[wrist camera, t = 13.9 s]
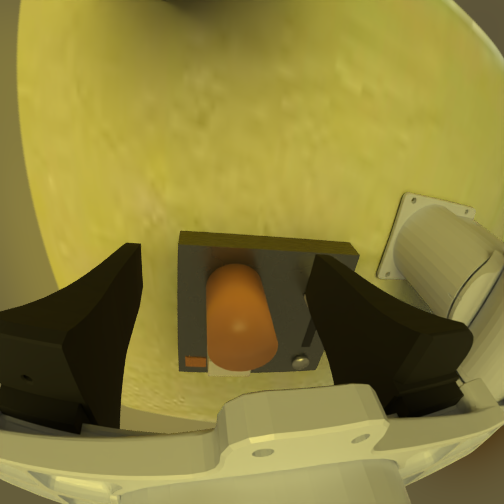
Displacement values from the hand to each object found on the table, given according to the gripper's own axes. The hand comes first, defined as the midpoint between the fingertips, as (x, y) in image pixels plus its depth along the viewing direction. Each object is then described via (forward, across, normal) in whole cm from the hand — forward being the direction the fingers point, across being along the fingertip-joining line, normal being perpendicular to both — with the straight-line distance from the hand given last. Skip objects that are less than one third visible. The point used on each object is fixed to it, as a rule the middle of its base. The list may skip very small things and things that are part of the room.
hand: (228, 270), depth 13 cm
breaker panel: (+9, -4, +10) cm, 14 cm away
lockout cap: (+7, -2, +6) cm, 10 cm away
